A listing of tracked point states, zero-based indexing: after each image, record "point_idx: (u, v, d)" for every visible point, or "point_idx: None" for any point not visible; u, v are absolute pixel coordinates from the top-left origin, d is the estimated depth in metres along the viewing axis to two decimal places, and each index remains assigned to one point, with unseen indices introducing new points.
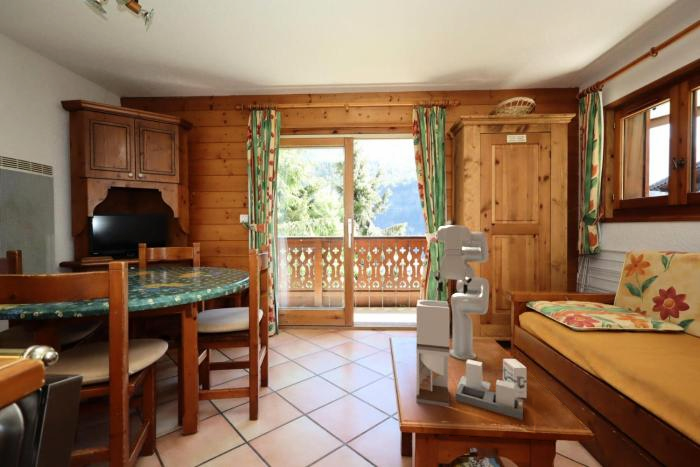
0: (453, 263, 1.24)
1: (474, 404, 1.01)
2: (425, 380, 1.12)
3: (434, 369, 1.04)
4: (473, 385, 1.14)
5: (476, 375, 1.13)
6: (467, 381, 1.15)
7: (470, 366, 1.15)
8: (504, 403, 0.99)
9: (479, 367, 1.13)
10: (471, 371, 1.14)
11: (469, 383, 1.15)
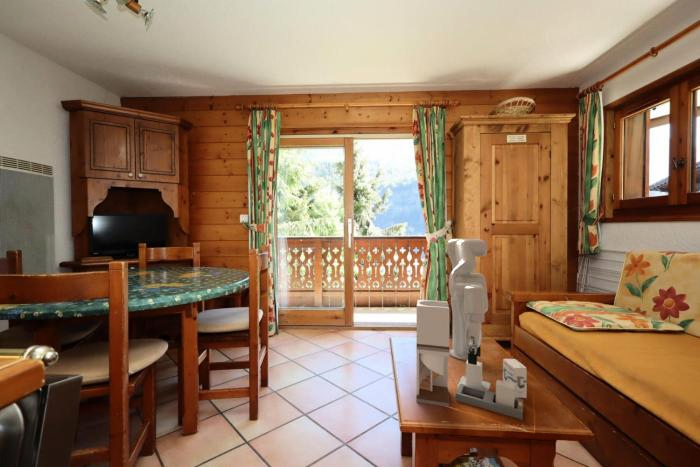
0: (480, 328, 1.15)
1: (474, 404, 1.01)
2: (425, 380, 1.12)
3: (434, 369, 1.04)
4: (473, 385, 1.14)
5: (476, 375, 1.13)
6: (467, 381, 1.15)
7: (470, 366, 1.15)
8: (504, 403, 0.99)
9: (479, 367, 1.13)
10: (471, 371, 1.14)
11: (469, 383, 1.15)
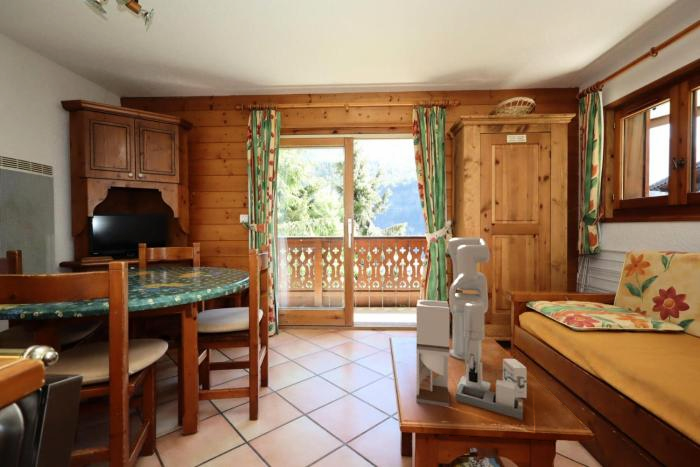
0: None
1: (474, 404, 1.01)
2: (425, 380, 1.12)
3: (434, 369, 1.04)
4: (473, 385, 1.14)
5: None
6: (467, 381, 1.15)
7: None
8: (504, 403, 0.98)
9: (479, 367, 1.13)
10: None
11: (469, 383, 1.15)
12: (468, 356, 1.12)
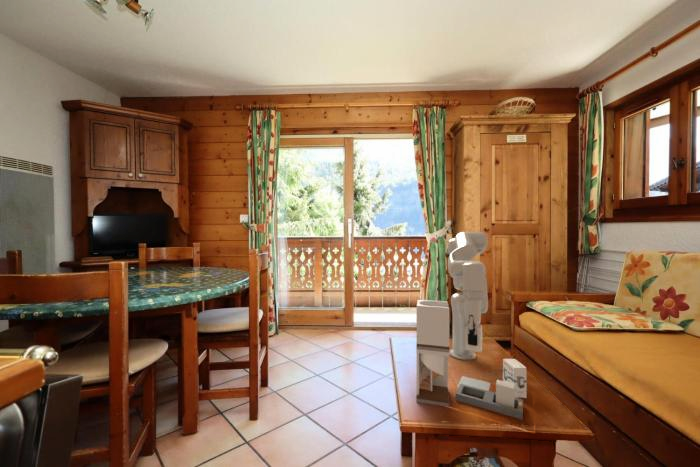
0: (480, 306, 1.09)
1: (474, 404, 1.01)
2: (425, 380, 1.12)
3: (434, 369, 1.04)
4: (473, 349, 1.07)
5: None
6: (466, 345, 1.09)
7: None
8: (504, 403, 0.99)
9: (479, 329, 1.07)
10: None
11: (468, 347, 1.08)
12: (467, 317, 1.06)
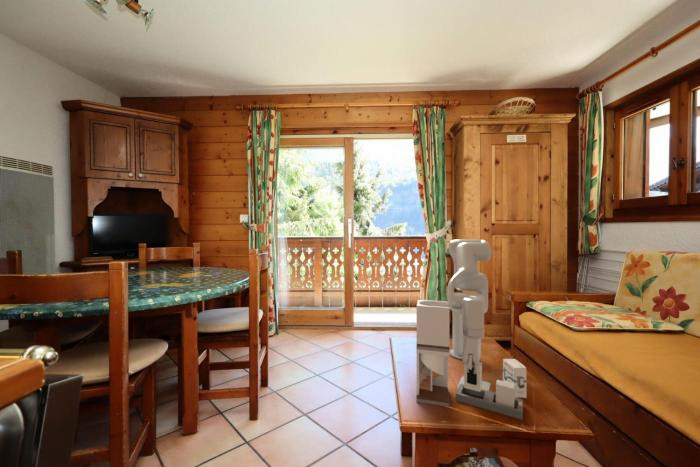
0: (479, 343, 1.05)
1: (474, 404, 1.01)
2: (425, 380, 1.12)
3: (434, 369, 1.04)
4: (472, 388, 1.04)
5: None
6: (465, 383, 1.05)
7: None
8: (504, 403, 0.99)
9: (478, 368, 1.03)
10: None
11: (467, 385, 1.05)
12: (466, 356, 1.02)
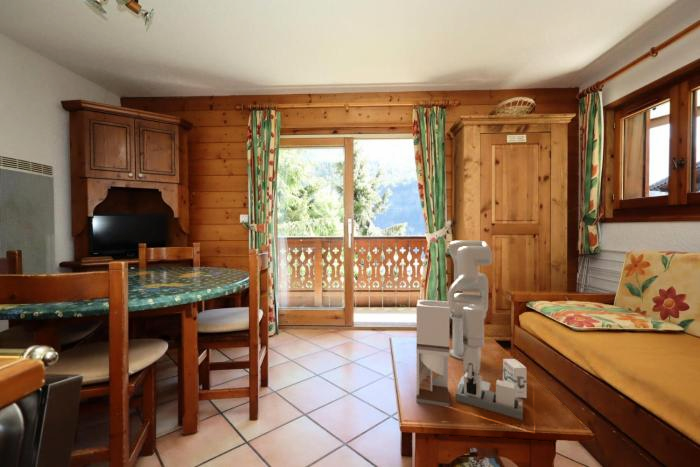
0: (479, 353, 1.05)
1: (474, 404, 1.01)
2: (425, 380, 1.12)
3: (434, 369, 1.04)
4: None
5: None
6: None
7: None
8: (504, 403, 0.99)
9: (478, 381, 1.03)
10: None
11: None
12: (466, 365, 1.02)
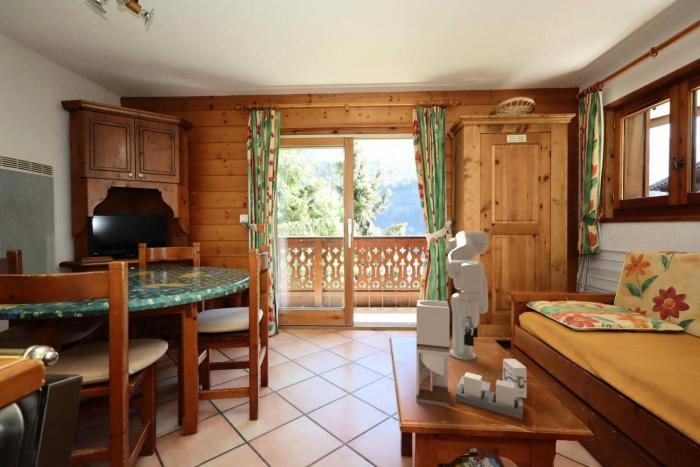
0: (477, 307, 1.07)
1: (474, 404, 1.01)
2: (425, 380, 1.12)
3: (434, 369, 1.04)
4: None
5: (475, 390, 1.03)
6: None
7: (468, 379, 1.05)
8: (504, 403, 0.98)
9: (478, 381, 1.03)
10: (470, 385, 1.04)
11: None
12: (465, 319, 1.05)
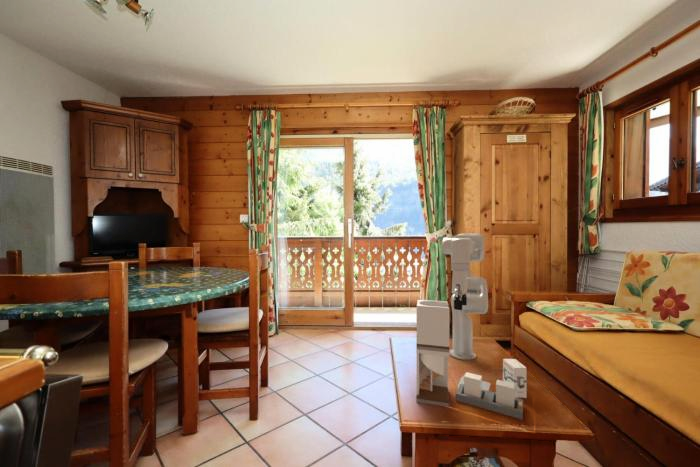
0: (466, 277, 1.22)
1: (474, 404, 1.01)
2: (425, 380, 1.12)
3: (434, 369, 1.04)
4: None
5: (475, 390, 1.03)
6: None
7: (468, 379, 1.05)
8: (504, 403, 0.99)
9: (478, 381, 1.03)
10: (470, 385, 1.04)
11: None
12: (454, 286, 1.19)
